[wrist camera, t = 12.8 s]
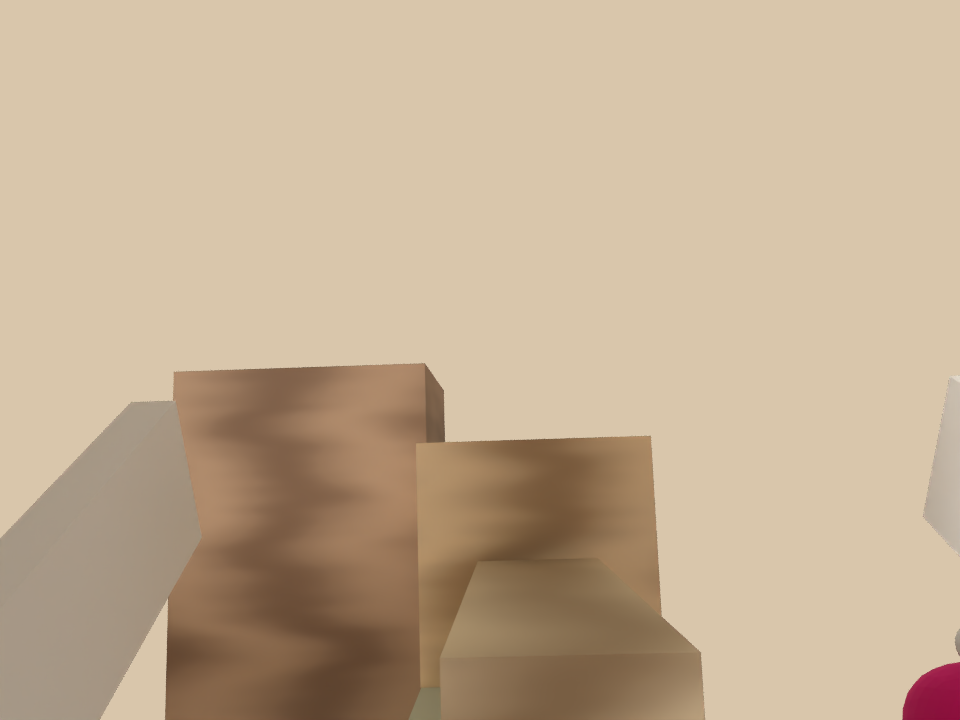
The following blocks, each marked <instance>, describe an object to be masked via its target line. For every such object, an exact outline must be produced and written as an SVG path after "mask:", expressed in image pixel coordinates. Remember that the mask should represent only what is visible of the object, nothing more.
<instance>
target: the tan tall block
mask: <svg viewBox="0 0 960 720" xmlns="http://www.w3.org/2000/svg"><path fill="white" fill-rule="evenodd" d="M416 470H417V525H418V580H419V635H420V688H431V687H440V694H441V720H705V711H704V696H703V681H702V665H701V652H700V651H699V650H697V648H695V647H694V646H693V645H692V644H691V643H690V642H689V641H688V640H687V639H686V638H685V637H683V636H682V635H681V634H680V633H679V632H678V631H677V630H676V629H675V628H674V627H672V626H671V625H670V624H669V623H668V622H667V621H666V620H665V619H664V618H663V617H662V615H661V599H660V581H659V565H658V549H657V531H656V515H655V498H654V481H653V464H652V448H651V436H630V437H598V438H566V439H538V440H537V439H536V440H503V441H471V442H439V443H416Z"/></svg>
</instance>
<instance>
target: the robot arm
mask: <svg viewBox="0 0 960 720" xmlns="http://www.w3.org/2000/svg"><path fill="white" fill-rule="evenodd" d="M923 517H924V518H925V519H926V520H927V521H928V523H929V524H930V525H931V526H932V527H933V528H934V529H935V530H936V531H937V532H938V534H939V535H941V537H942V538H943V539H944V540H945V541H946V542H947V543H948V544H949V545H950V546H951V548H952V549H953V550H954V551H955V552H956V553H957V554H958V555H959V557H960V376H950V378H949V383H948V388H947V393H946V399H945V404H944V409H943V414H942V419H941V425H940V430H939V435H938V440H937V445H936V451H935V456H934V461H933V467H932V471H931V477H930V482H929V487H928V492H927V498H926V503H925V508H924V514H923ZM201 538H202V536H201V531H200V526H199V520H198V515H197V510H196V505H195V500H194V494H193V489H192V484H191V479H190V474H189V468H188V463H187V458H186V453H185V448H184V442H183V437H182V432H181V427H180V422H179V416H178V411H177V406H176V401H155V402H131V403H130V404H129V405H128V406H127V407H126V408H125V409H124V410H123V411H122V412H121V413H120V415H118V416H117V417H116V419H115V420H114V421H113V422H112V423H111V424H110V425H109V426H108V427H107V428H106V429H105V430H104V431H103V432H102V433H101V434H100V435H99V436H98V437H97V438H96V439H95V441H93V442H92V444H91V445H90V446H89V447H88V448H87V449H86V450H85V451H84V452H83V453H82V454H81V455H80V456H79V457H78V458H77V459H76V460H75V461H74V462H73V463H72V464H71V466H69V468H68V469H67V470H66V471H65V472H64V473H63V474H62V475H61V476H60V477H59V478H58V479H57V480H56V481H55V482H54V483H53V484H52V485H51V486H50V487H49V488H48V489H47V490H46V491H45V493H44V494H43V495H42V496H41V497H40V498H39V499H38V500H37V501H36V502H35V503H34V504H33V505H32V506H31V507H30V508H29V509H28V510H27V511H26V512H25V513H24V515H23V516H22V517H21V518H20V519H19V520H18V521H17V522H16V523H15V524H14V525H13V526H12V527H11V528H10V529H9V530H8V531H7V532H6V533H5V534H4V535H3V536H2V538H1V539H0V720H100V718H101V716H102V715H103V713H104V711H105V709H106V707H107V706H108V704H109V702H110V700H111V699H112V697H113V695H114V693H115V691H116V690H117V688H118V686H119V684H120V682H121V681H122V679H123V677H124V675H125V674H126V672H127V670H128V668H129V666H130V665H131V663H132V661H133V659H134V657H135V656H136V654H137V652H138V650H139V649H140V647H141V645H142V643H143V641H144V640H145V638H146V636H147V634H148V632H149V631H150V629H151V627H152V625H153V624H154V622H155V620H156V618H157V616H158V615H159V613H160V611H161V609H162V608H163V606H164V604H165V602H166V600H167V599H168V597H169V595H170V593H171V591H172V590H173V588H174V586H175V584H176V583H177V581H178V579H179V577H180V575H181V574H182V572H183V570H184V568H185V566H186V565H187V563H188V561H189V559H190V558H191V556H192V554H193V552H194V550H195V549H196V547H197V545H198V543H199V542H200V540H201Z"/></svg>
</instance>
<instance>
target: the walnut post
mask: <svg viewBox="0 0 960 720" xmlns="http://www.w3.org/2000/svg"><path fill="white" fill-rule="evenodd" d="M173 401H176V406H177V411H178V416H179V422H180V427H181V432H182V437H183V442H184V448H185V453H186V458H187V463H188V468H189V474H190V479H191V484H192V489H193V494H194V500H195V505H196V510H197V515H198V520H199V526H200V531H201V536H202V538H201V540H200V542H199V543H198V545H197V547H196V549H195V550H194V552H193V554H192V556H191V558H190V559H189V561H188V563H187V565H186V566H185V568H184V570H183V572H182V574H181V575H180V577H179V579H178V581H177V583H176V584H175V586H174V588H173V590H172V591H171V593H170V595H169V597H168V628H167V629H168V630H167V671H166V709H165V720H409V717H410V715H411V712H412V710H413V707H414V705H415V702H416V700H417V697H418V695H419V692H420V690H421V688H420V635H419V580H418V525H417V470H416V443H439V442H445V428H444V390H443V389H442V387H441V386H440V385H439V383H438V382H437V381H436V379H435V377H434V376H433V374H432V373H431V372H430V370H429V369H428V367H427V366H426V365H425V363H424V364H423V363H422V364H393V365H362V366H334V367H303V368H274V369H244V370H215V371H186V372H174V390H173Z"/></svg>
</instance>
